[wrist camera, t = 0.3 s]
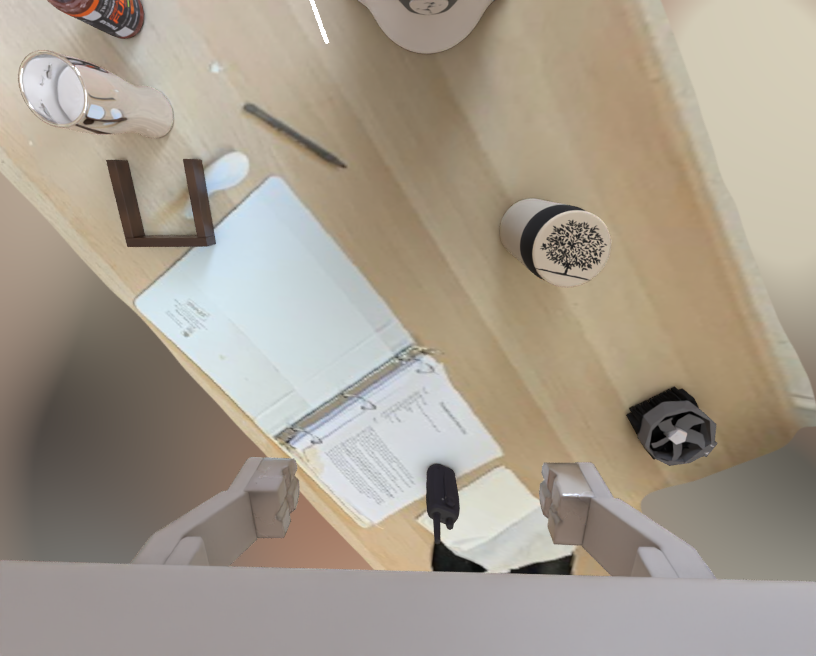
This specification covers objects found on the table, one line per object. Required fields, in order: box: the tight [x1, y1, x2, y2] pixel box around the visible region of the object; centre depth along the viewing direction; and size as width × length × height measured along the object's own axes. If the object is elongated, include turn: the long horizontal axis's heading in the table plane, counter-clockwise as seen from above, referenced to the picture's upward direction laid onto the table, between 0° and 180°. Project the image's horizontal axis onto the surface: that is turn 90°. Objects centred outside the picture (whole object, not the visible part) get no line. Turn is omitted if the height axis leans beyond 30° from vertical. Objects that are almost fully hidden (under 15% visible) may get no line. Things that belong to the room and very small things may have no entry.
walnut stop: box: [106, 159, 216, 247], centre depth 56 cm, size 11×11×2 cm
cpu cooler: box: [626, 387, 717, 466], centre depth 63 cm, size 10×6×10 cm
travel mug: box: [500, 199, 611, 287], centre depth 48 cm, size 8×8×18 cm
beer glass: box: [18, 50, 173, 138], centre depth 46 cm, size 7×7×15 cm
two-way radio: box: [426, 464, 460, 544], centre depth 64 cm, size 6×4×15 cm
